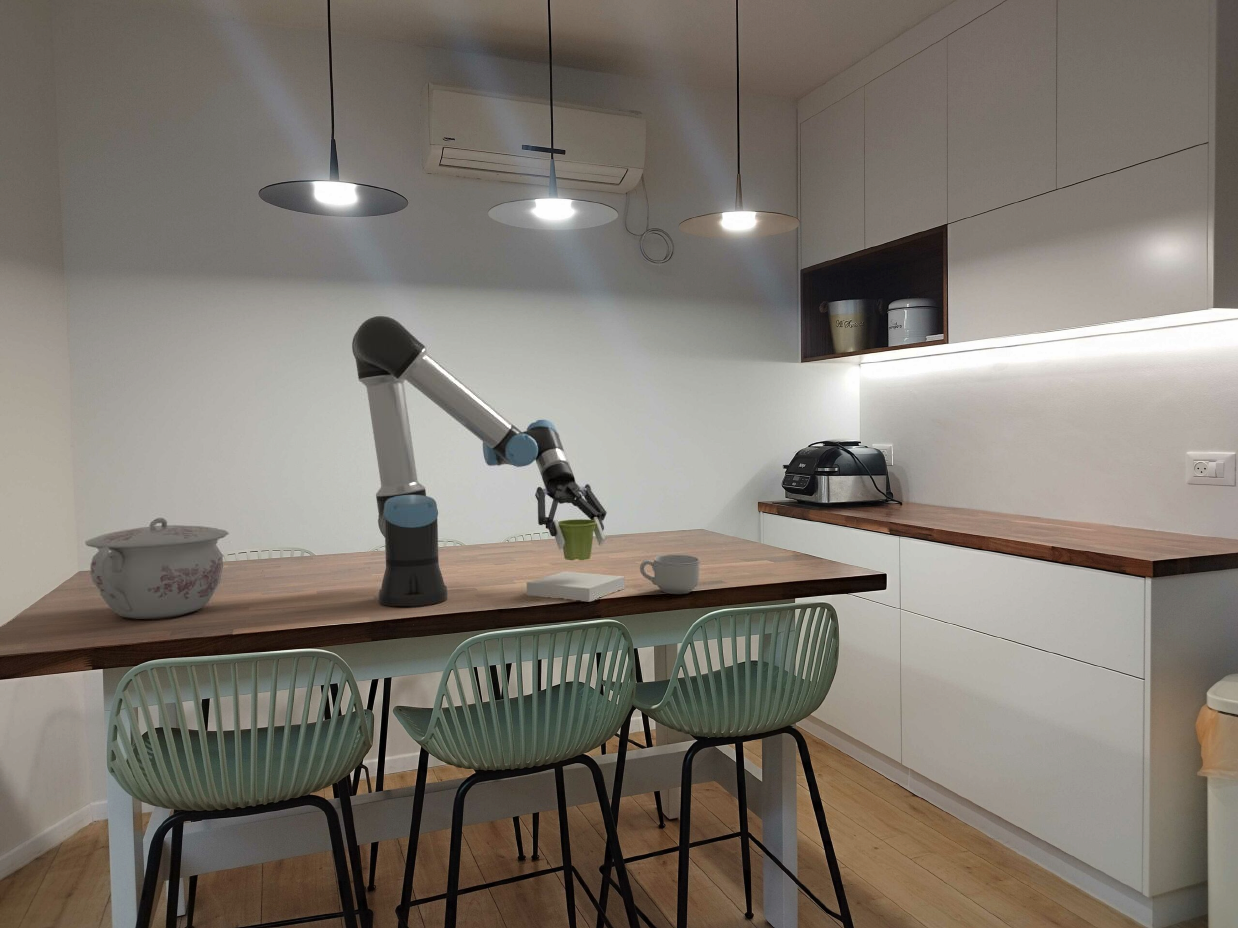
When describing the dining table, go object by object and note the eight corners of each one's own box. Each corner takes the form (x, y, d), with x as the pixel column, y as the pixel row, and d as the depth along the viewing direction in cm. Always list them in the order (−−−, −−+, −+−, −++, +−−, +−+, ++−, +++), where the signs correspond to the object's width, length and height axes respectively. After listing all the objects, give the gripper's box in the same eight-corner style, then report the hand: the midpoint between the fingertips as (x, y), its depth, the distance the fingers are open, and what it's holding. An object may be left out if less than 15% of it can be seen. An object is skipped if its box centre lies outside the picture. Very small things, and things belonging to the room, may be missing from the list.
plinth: (526, 595, 200) (526, 582, 200) (565, 583, 214) (565, 571, 214) (589, 601, 192) (589, 588, 192) (625, 589, 206) (624, 576, 206)
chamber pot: (214, 594, 207) (210, 508, 206) (247, 613, 186) (243, 517, 185) (76, 612, 190) (72, 518, 189) (95, 635, 168) (90, 529, 167)
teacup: (700, 587, 207) (700, 554, 206) (700, 596, 196) (699, 561, 195) (642, 587, 208) (641, 554, 208) (638, 596, 197) (638, 561, 197)
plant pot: (606, 557, 203) (605, 520, 203) (577, 563, 196) (576, 525, 196) (578, 554, 209) (577, 518, 209) (549, 559, 203) (548, 522, 202)
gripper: (593, 479, 220) (621, 549, 207) (510, 484, 211) (533, 558, 198) (601, 459, 215) (630, 530, 202) (516, 463, 206) (540, 537, 193)
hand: (582, 543), depth 200 cm, fingers closed on plant pot, 9 cm apart
